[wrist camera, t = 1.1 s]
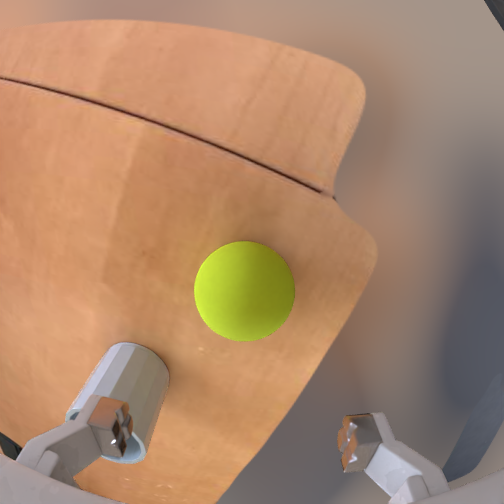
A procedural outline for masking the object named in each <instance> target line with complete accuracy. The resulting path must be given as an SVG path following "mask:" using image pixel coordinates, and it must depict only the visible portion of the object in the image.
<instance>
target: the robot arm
mask: <svg viewBox="0 0 504 504" xmlns="http://www.w3.org/2000/svg"><path fill="white" fill-rule="evenodd" d="M129 409H130V408H129V405H128V403H127V402H124V401H120V400H116V399H112V398H108V397H104V396H99V395H95V394H91V395H90V396H89V397H88V398H87V400H86V402H85V403H84V405H83V407H82V408H81V410H80V412H79V414H78V415H77V417H76V419H75V420H69V421H67V422H65V423H64V424H61V425H59V426H57V427H55V428H53V429H51V430H49V431H47V432H45V433H43V434H41V435H39V436H37V437H35V438H33V439H31V440H28V442H27V443H26V445H25V447H24V448H23V450H22V451H21V453H20V455H19V456H18V458H17V459H16V461H14V460H12V459H11V458H9V457H7V456H5V455H3V454H1V453H0V504H127V503H123V502H119V501H116V500H112V499H109V498H105V497H102V496H99V495H96V494H93V493H90V492H87V491H84V490H81V489H80V487H79V485H78V484H77V483H76V481H75V480H74V478H73V476H75V475H76V474H77V473H79V472H80V471H82V470H83V469H84V468H86V467H87V466H88V465H90V464H91V463H92V462H94V461H95V460H96V459H98V458H99V457H100V456H102V455H103V454H106V455H110V456H114V457H119V458H123V455H124V453H125V450H126V448H127V444H126V442H125V441H126V440H128V439H129V438H130V437H131V434H132V431H133V419H132V416H131V415H130V414H129V413H128V411H129ZM343 425H344V427H342V428H341V429H340V430H339V433H338V440H337V442H338V449H339V452H341V453H342V454H343V457H342V459H341V462H342V466H343V470H344V472H345V473H346V472H356V471H365V472H366V473H367V474H368V475H369V476H370V477H371V478H372V479H373V480H374V481H375V482H376V483H377V484H378V485H379V486H380V487H381V488H382V489H383V490H384V491H386V493H387V494H388V495H390V496H391V497H392V498H391V499H390V501H389V502H388V503H387V504H504V468H502V469H500V470H498V471H496V472H493V473H491V474H489V475H487V476H485V477H482V478H480V479H478V480H475V481H473V482H471V483H468V484H465V485H463V486H460V487H458V488H455V489H452V490H451V489H450V487H449V485H448V483H447V480H446V478H445V476H444V474H443V472H442V469H441V468H440V467H439V466H437V465H436V464H434V463H432V462H431V461H429V460H428V459H426V458H425V457H423V456H422V455H420V454H419V453H417V452H416V451H414V450H413V449H411V448H410V447H408V446H407V445H405V444H404V443H402V442H401V441H396V439H395V437H394V435H393V432H392V430H391V428H390V426H389V423H388V421H387V418H386V416H385V414H384V413H383V412H377V413H367V414H357V415H346V416H345V417H344V420H343Z"/></svg>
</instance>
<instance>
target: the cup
mask: <svg viewBox="0 0 504 504" xmlns="http://www.w3.org/2000/svg"><path fill="white" fill-rule="evenodd" d="M169 381H170V376H169V372H168V369H167V367H166V365H165V364H164V362H163V361H162V360H161V358H160V357H159V356H157V355H156V354H155V353H154V352H152V351H151V350H149V349H148V348H146V347H144V346H141V345H138V344H135V343H129V342H122V343H118V344H115V345H113V346H111V347H110V348H109V349H108V350H107V352H106V353H105V354H104V355H103V356H102V358H101V359H100V361H99V363H98V364H97V366H96V367H95V369H94V370H93V372H92V373H91V375H90V376H89V378H88V379H87V381H86V383H85V384H84V386H83V387H82V389H81V390H80V392H79V394H78V395H77V397H76V398H75V400H74V402H73V403H72V405H71V406H70V408H69V410H68V411H67V413H66V420H65V422H67V421H69V420H75V419H76V417H77V415H78V414H79V412H80V410H81V408H82V407H83V405H84V403H85V402H86V400H87V398H88V397H89V396H90V395H91V394H95V395H99V396H104V397H108V398H112V399H116V400H120V401H124V402H127V403H128V405H129V408H130V409H129V411H128V413H129V414H130V415H131V416H132V419H133V431H132V434H131V437H130V438H129V439H128V440H126V441H125V442H126V444H127V448H126V450H125V453H124V455H123V458H119V457H114V456H110V455H106V454H103V455H102V456H100V457H102V458H105V459H107V460H110V461H114V462H118V463H123V464H134V463H137V462H139V461H142V460H143V459H144V457H145V455H146V453H147V450H148V447H149V444H150V441H151V438H152V435H153V431H154V428H155V425H156V422H157V419H158V416H159V413H160V410H161V407H162V404H163V401H164V398H165V395H166V392H167V389H168V386H169Z"/></svg>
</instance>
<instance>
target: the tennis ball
mask: <svg viewBox="0 0 504 504" xmlns="http://www.w3.org/2000/svg"><path fill="white" fill-rule="evenodd" d="M194 296H195V302H196V306H197V309H198V311H199V314H200V315H201V317H202V319H203V320H204V322H205V323H206V324H207V325H208V326H209V327H210V328H211V329H212V330H213V331H214V332H216V333H217V334H219V335H221V336H223V337H225V338H228V339H231V340H235V341H254V340H259V339H262V338H264V337H266V336H269V335H270V334H272V333H273V332H275V331H276V330H277V329H278V328H279V327H280V326H281V325H282V324H283V323H284V322H285V321H286V319H287V318H288V316H289V314H290V312H291V310H292V307H293V303H294V298H295V286H294V280H293V276H292V273H291V271H290V269H289V267H288V265H287V264H286V262H285V261H284V260H283V258H282V257H281V256H280V255H279V254H278V253H276V252H275V251H274V250H272V249H271V248H269V247H267V246H265V245H263V244H260V243H256V242H250V241H239V242H233V243H229V244H226V245H224V246H222V247H220V248H218V249H217V250H215V251H214V252H213V253H211V254H210V255H209V256H208V257H207V258H206V260H205V261H204V262H203V264H202V265H201V267H200V269H199V271H198V274H197V276H196V280H195V286H194Z"/></svg>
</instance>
